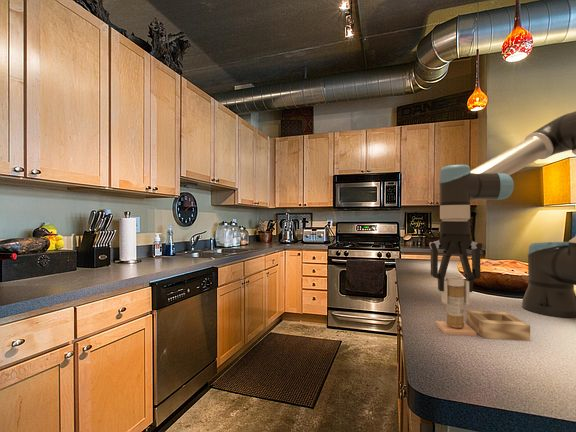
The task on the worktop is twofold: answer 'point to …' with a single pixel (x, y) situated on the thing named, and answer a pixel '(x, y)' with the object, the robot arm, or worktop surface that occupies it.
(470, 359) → the worktop surface
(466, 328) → the terracotta tile
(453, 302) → the sprinkles bottle
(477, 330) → the socket block
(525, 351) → the worktop surface
